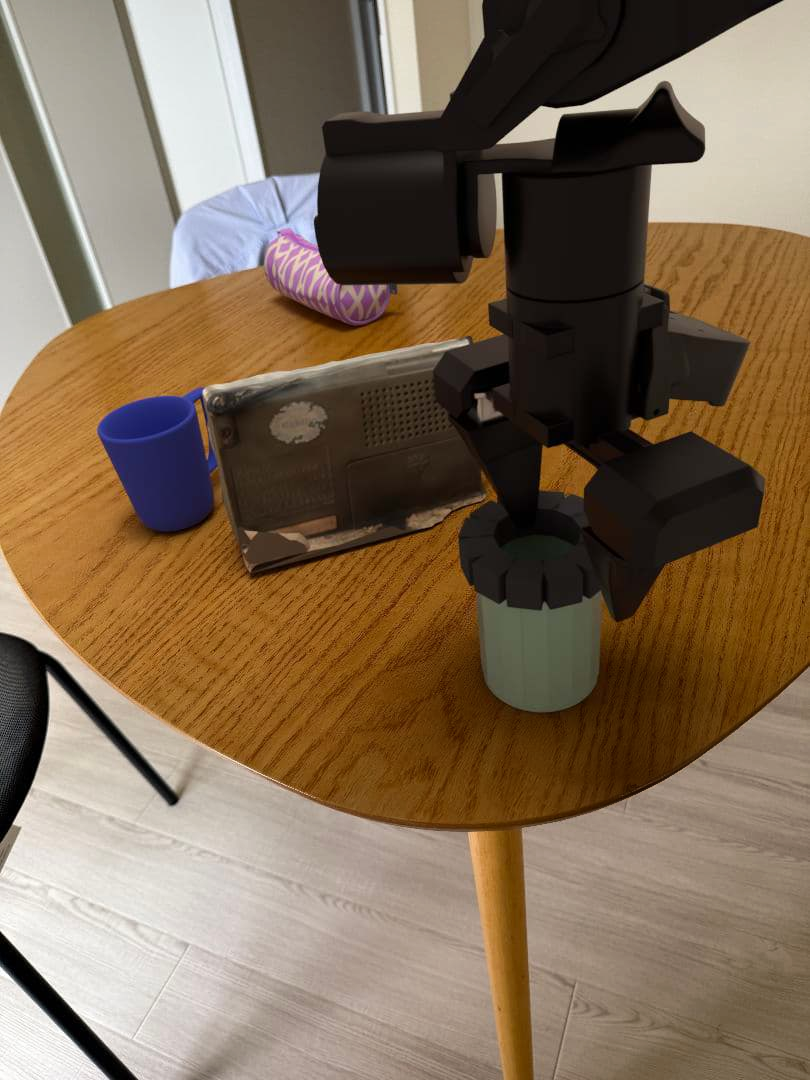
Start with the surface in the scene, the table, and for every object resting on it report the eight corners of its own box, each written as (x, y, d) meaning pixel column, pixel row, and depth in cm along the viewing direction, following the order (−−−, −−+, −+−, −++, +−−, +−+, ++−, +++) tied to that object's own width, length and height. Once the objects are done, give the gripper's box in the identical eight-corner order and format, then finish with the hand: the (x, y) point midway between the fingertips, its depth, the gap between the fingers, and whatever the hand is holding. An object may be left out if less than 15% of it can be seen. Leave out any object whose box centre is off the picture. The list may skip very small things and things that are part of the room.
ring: (578, 504, 50) (579, 478, 48) (643, 588, 42) (645, 559, 41) (445, 535, 49) (442, 508, 47) (488, 625, 41) (486, 597, 40)
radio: (483, 465, 72) (473, 307, 63) (517, 513, 65) (511, 344, 56) (233, 524, 69) (186, 367, 60) (241, 582, 62) (189, 413, 53)
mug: (264, 476, 75) (240, 380, 69) (187, 548, 67) (152, 446, 61) (197, 465, 78) (168, 373, 73) (115, 533, 70) (75, 434, 64)
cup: (572, 620, 54) (573, 513, 49) (617, 696, 48) (625, 584, 43) (469, 644, 53) (459, 538, 48) (502, 725, 47) (496, 614, 42)
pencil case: (403, 315, 106) (394, 244, 101) (348, 337, 102) (335, 264, 96) (314, 286, 121) (302, 222, 116) (263, 304, 117) (248, 239, 111)
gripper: (914, 290, 28) (826, 616, 37) (602, 202, 42) (594, 452, 51) (658, 373, 25) (631, 705, 34) (415, 248, 39) (442, 505, 48)
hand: (570, 568), depth 42 cm, fingers open, 9 cm apart
